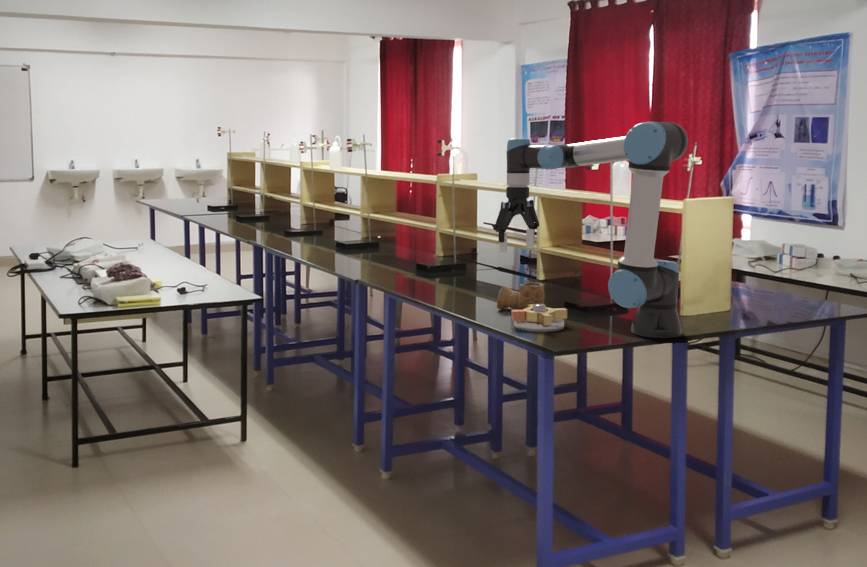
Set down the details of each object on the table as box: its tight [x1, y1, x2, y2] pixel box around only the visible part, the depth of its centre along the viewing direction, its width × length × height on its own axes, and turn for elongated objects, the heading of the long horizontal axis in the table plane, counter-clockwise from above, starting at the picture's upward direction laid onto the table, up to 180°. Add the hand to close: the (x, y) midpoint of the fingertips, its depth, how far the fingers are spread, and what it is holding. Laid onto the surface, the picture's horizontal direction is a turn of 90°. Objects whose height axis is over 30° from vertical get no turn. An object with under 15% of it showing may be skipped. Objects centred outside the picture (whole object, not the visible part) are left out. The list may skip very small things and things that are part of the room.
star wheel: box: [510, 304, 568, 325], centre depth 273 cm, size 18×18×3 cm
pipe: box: [496, 281, 546, 310], centre depth 296 cm, size 9×16×10 cm, turn 69°
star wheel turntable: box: [513, 303, 565, 333], centre depth 273 cm, size 16×16×7 cm
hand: (516, 250), depth 282 cm, fingers open, 13 cm apart
